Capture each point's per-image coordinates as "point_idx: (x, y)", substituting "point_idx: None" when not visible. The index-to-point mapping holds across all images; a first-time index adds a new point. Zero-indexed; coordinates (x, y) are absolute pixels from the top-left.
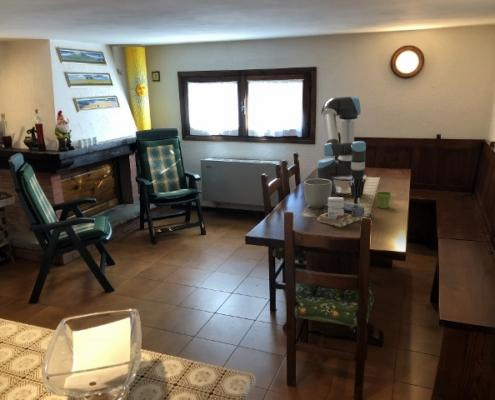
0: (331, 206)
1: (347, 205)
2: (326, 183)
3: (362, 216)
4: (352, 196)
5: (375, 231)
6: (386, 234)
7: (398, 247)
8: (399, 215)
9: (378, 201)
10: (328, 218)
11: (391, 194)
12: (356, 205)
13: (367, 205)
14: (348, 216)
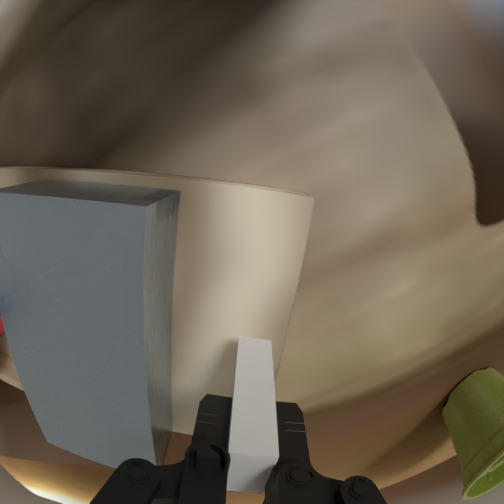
0: None
1: (68, 352)
2: None
3: None
4: (120, 482)
5: (59, 465)
6: (73, 487)
7: (40, 493)
8: None
9: (472, 419)
10: None
11: (487, 491)
12: (148, 431)
13: (492, 299)
14: (3, 379)
